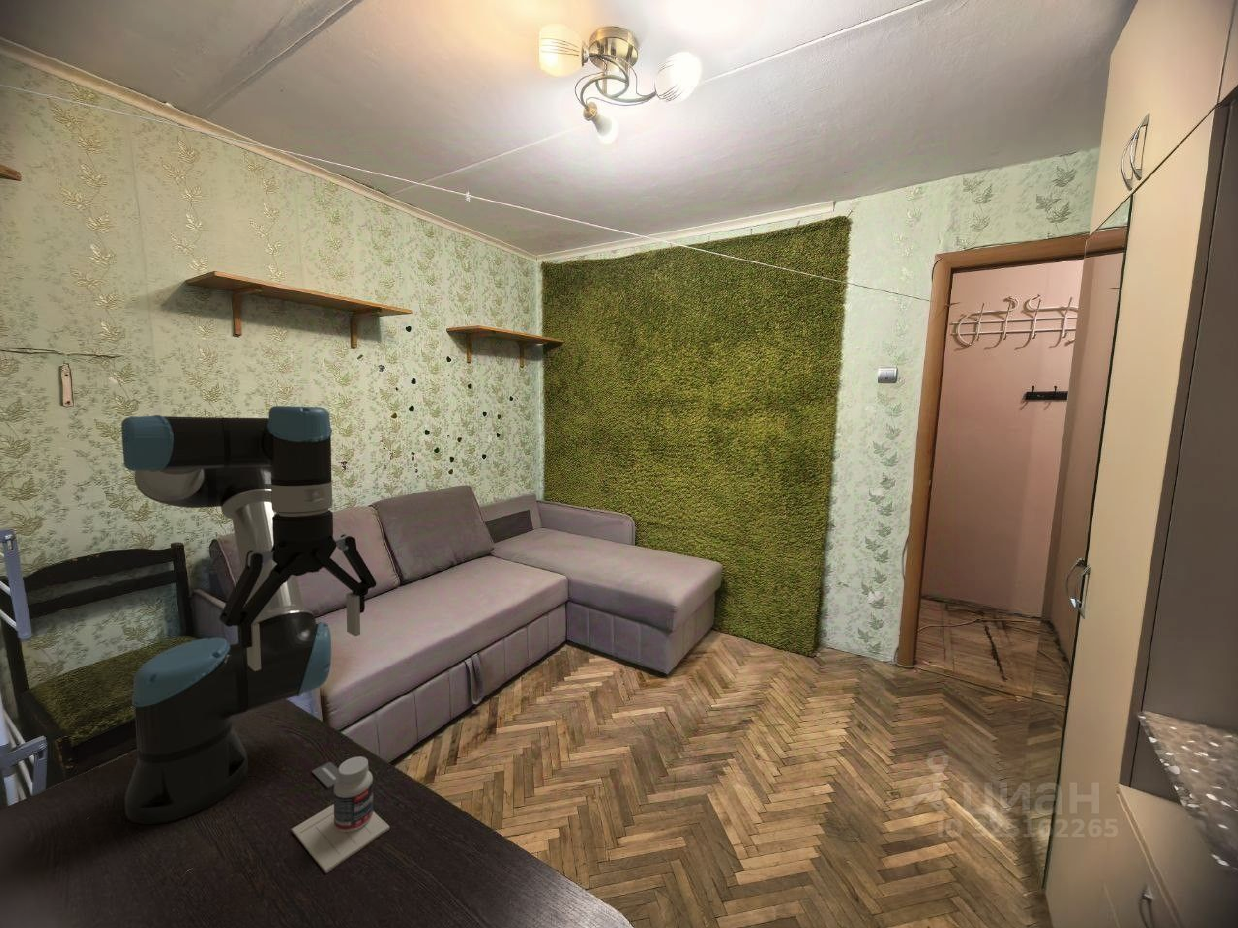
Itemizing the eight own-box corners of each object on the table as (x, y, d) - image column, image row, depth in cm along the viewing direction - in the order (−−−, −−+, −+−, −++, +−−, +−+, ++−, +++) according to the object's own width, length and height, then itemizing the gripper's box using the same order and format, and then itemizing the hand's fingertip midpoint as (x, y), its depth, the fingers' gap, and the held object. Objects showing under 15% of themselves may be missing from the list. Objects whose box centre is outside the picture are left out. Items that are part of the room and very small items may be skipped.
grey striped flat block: (311, 772, 84) (311, 770, 84) (330, 762, 87) (330, 760, 87) (328, 788, 81) (327, 786, 81) (346, 778, 83) (346, 776, 83)
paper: (291, 831, 73) (291, 828, 72) (353, 794, 80) (353, 791, 80) (326, 872, 66) (325, 870, 66) (389, 828, 74) (389, 826, 73)
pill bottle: (356, 836, 71) (355, 781, 71) (326, 830, 72) (324, 774, 72) (380, 808, 77) (380, 756, 76) (352, 802, 78) (350, 750, 77)
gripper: (203, 530, 59) (212, 694, 61) (397, 503, 79) (399, 627, 82) (185, 520, 64) (194, 674, 66) (373, 498, 84) (375, 616, 86)
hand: (307, 649), depth 74 cm, fingers open, 13 cm apart
